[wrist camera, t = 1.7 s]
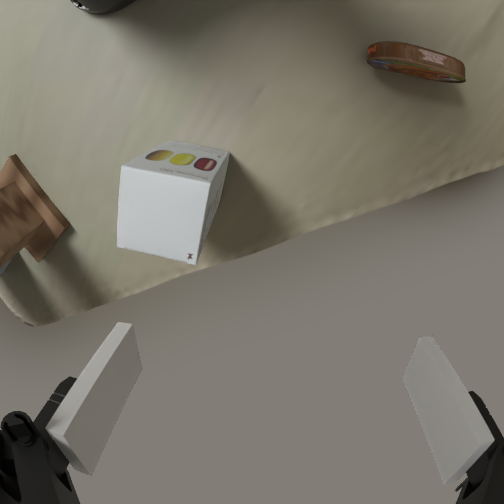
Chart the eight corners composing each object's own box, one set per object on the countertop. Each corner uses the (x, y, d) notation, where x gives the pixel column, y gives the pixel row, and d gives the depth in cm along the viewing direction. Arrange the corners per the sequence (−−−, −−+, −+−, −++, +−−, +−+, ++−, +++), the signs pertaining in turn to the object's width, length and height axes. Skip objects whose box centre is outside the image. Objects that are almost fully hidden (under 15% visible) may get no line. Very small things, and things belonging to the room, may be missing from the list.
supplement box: (231, 151, 42) (216, 182, 27) (218, 209, 46) (199, 268, 31) (167, 138, 41) (118, 164, 26) (158, 197, 45) (114, 248, 30)
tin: (359, 65, 35) (381, 59, 28) (359, 45, 33) (380, 35, 26) (445, 84, 35) (476, 86, 27) (445, 66, 33) (477, 65, 26)
